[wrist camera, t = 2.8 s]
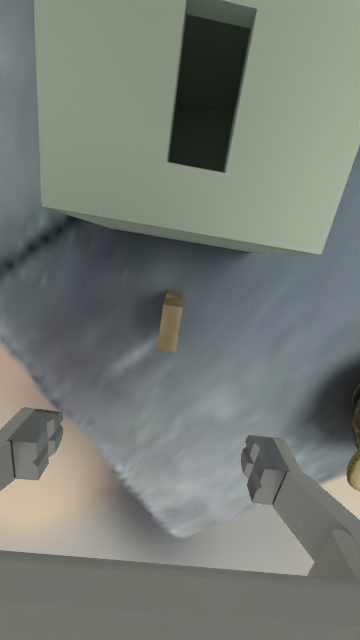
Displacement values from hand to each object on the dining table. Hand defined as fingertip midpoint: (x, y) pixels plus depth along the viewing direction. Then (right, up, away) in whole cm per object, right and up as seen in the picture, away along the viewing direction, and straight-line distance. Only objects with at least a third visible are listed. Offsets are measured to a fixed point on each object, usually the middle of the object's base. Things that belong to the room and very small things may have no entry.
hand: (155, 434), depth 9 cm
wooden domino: (0, +7, +20) cm, 21 cm away
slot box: (+3, +22, +15) cm, 27 cm away
